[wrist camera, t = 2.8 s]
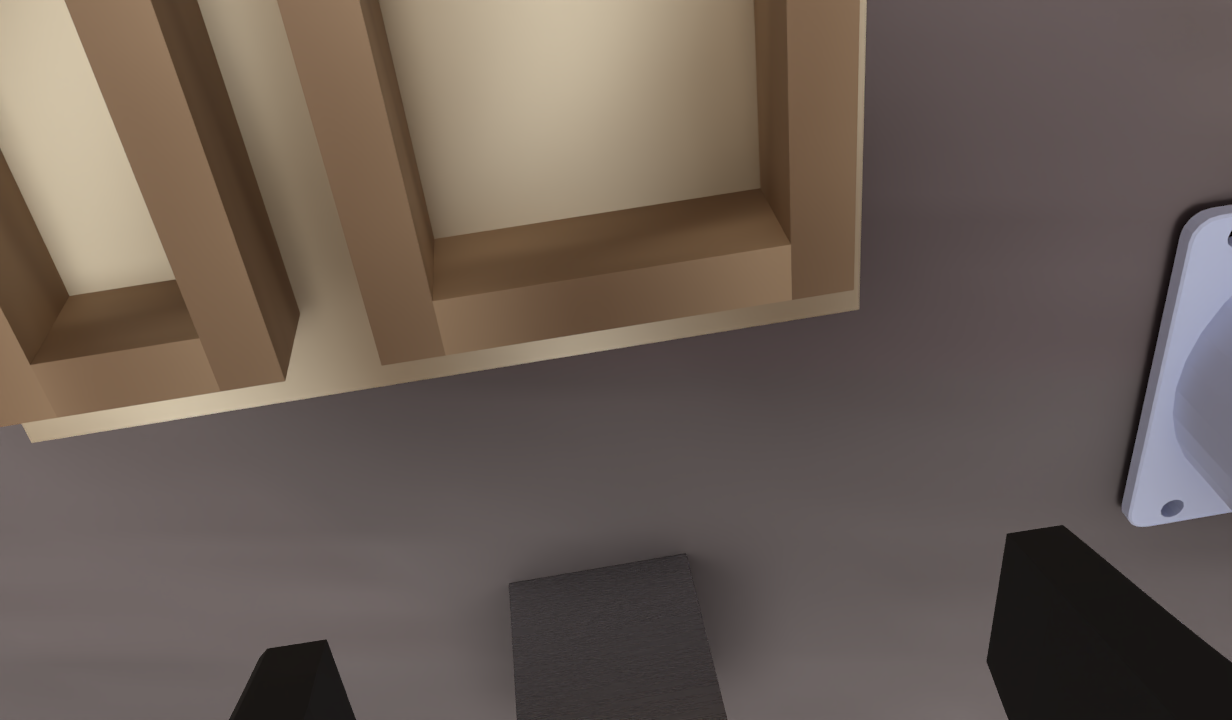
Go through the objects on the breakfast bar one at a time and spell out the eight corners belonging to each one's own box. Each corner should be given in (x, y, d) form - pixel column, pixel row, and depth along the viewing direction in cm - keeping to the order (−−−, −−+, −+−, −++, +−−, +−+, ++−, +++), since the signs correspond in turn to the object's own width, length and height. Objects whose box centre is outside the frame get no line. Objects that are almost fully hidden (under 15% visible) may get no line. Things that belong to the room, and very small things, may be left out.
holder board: (853, -430, 14) (936, -441, 12) (842, 282, 21) (895, 371, 18) (-307, -275, 14) (-473, -253, 11) (48, 409, 20) (-8, 519, 18)
